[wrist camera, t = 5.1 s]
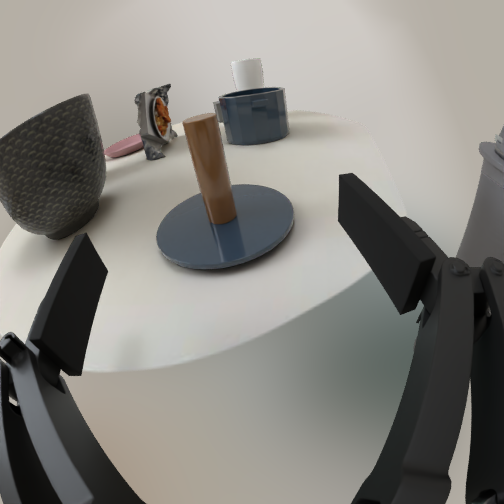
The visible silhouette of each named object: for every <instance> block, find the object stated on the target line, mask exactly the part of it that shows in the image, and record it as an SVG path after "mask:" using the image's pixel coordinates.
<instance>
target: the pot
mask: <svg viewBox="0 0 504 504" xmlns="http://www.w3.org/2000/svg"><path fill="white" fill-rule="evenodd" d="M218 98H219V103H220V108H221V113H222V118H223V123H224V128H225V133H226V138H227V141H228V142H229V143H231V144H235V145H254V144H262V143H268V142H272V141H276V140H279V139H282V138H284V137H286V136H287V135H288V134H289V122H288V113H287V105H286V97H285V89H284V88H281V87H266V88H255V89H248V90H241V91H237V92H232V93H228V94H225V95H222V96H219V97H218Z"/></svg>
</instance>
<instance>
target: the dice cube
mask: <svg viewBox="0 0 504 504" xmlns="http://www.w3.org/2000/svg"><path fill="white" fill-rule="evenodd" d="M213 104H214V109H215V113H216V114H217V119H218V121H219V122H223V118H222V113H221V108H220V103H219V101H217V102H213Z"/></svg>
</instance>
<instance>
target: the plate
mask: <svg viewBox="0 0 504 504" xmlns="http://www.w3.org/2000/svg"><path fill="white" fill-rule="evenodd" d="M140 136H141V135H139V134H136V135H133V136H131V137H128V138H126V139H124V140H121V141H119V142H117V143H115V144H114V145H112V146H110V147H108V148H107V149H106V150H105V151H104V154H105V155H107V156H110V157H113V158H115V157H120V156H124V155H127V154H129V153H132V152H134V151H137V150H139V149H141V148H143V147H144V146H143V142H142V139H141V137H140Z"/></svg>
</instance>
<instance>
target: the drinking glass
mask: <svg viewBox="0 0 504 504" xmlns="http://www.w3.org/2000/svg"><path fill="white" fill-rule="evenodd" d="M231 69H232V74H233V79H234V83H235V87H236V90H237V91H241V90H248V89H255V88H264V81H263V70H262V65H261V60H260V58H255V59H246V60H240V61H235V62H231Z"/></svg>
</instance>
